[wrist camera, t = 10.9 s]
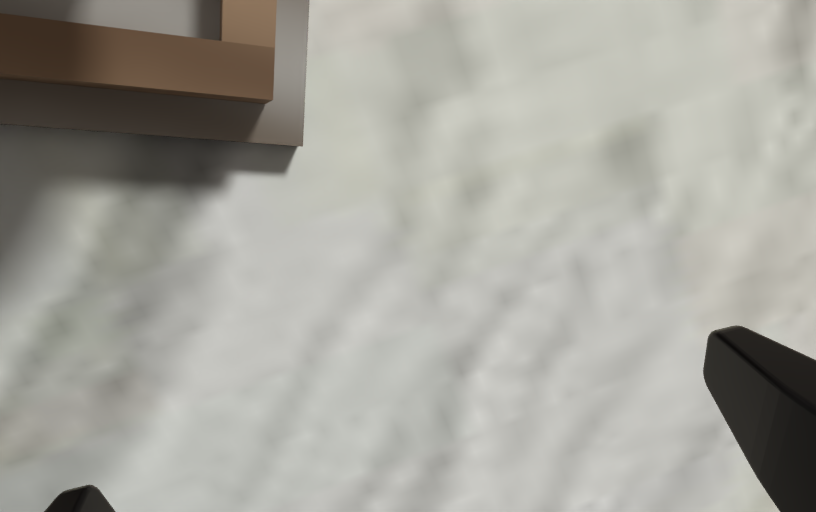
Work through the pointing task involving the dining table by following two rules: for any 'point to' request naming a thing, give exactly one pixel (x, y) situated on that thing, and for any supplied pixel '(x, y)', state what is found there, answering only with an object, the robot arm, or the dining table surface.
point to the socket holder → (157, 67)
